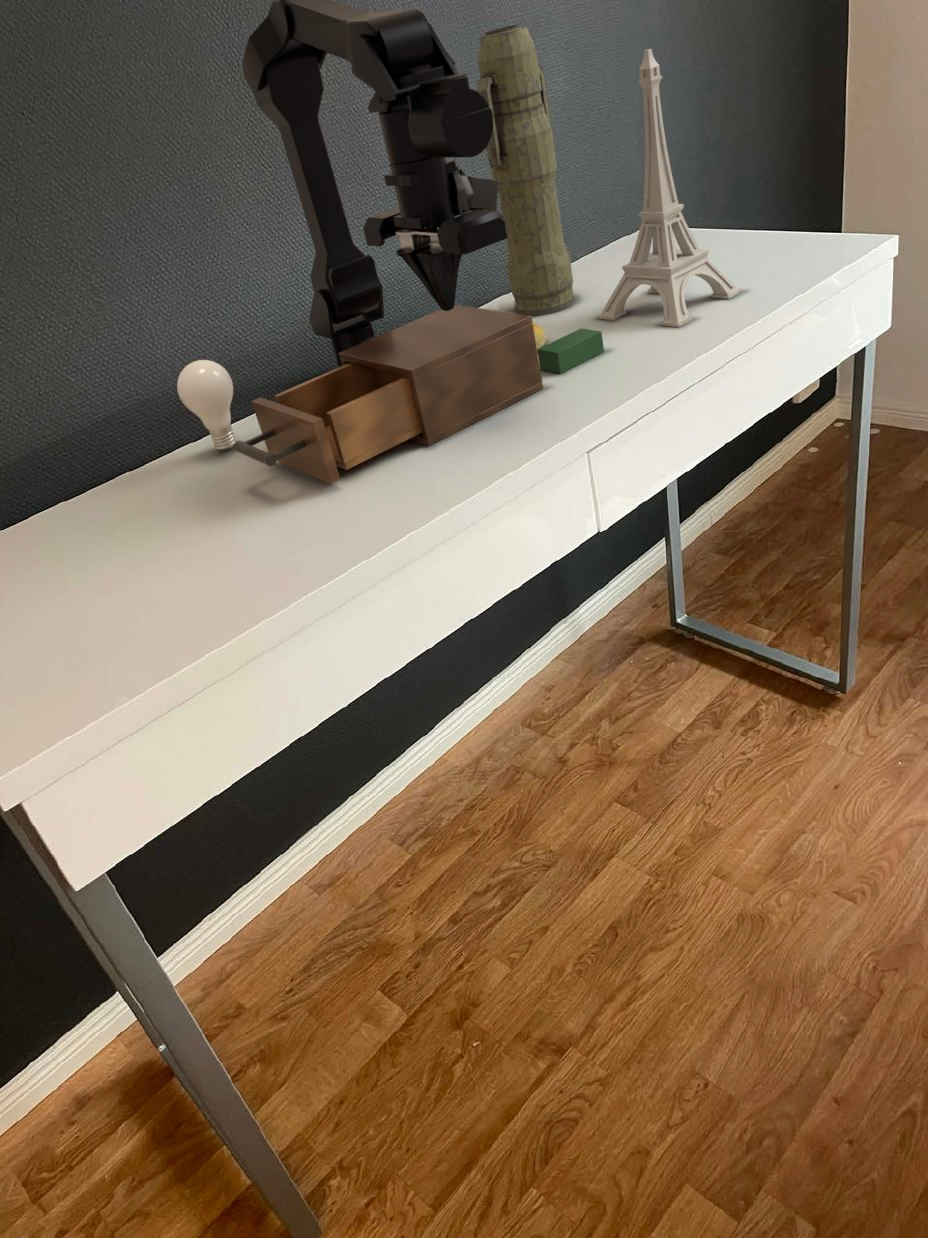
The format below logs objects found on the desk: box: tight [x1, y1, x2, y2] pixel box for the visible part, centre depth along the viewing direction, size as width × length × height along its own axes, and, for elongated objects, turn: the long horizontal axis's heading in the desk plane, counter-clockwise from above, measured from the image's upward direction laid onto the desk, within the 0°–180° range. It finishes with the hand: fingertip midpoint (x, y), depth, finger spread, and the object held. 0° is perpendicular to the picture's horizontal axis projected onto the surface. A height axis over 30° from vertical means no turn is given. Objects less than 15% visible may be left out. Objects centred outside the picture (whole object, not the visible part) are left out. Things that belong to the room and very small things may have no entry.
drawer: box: [233, 362, 422, 485], centre depth 105 cm, size 21×13×7 cm, turn 129°
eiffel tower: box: [597, 48, 742, 328], centre depth 120 cm, size 13×13×30 cm
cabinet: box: [339, 304, 544, 447], centre depth 111 cm, size 17×15×9 cm
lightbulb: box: [176, 359, 238, 452], centre depth 114 cm, size 6×6×11 cm
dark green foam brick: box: [537, 327, 605, 374], centre depth 117 cm, size 8×4×3 cm, turn 129°
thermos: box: [476, 23, 576, 316], centre depth 130 cm, size 9×12×35 cm
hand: (448, 309), depth 106 cm, fingers closed
